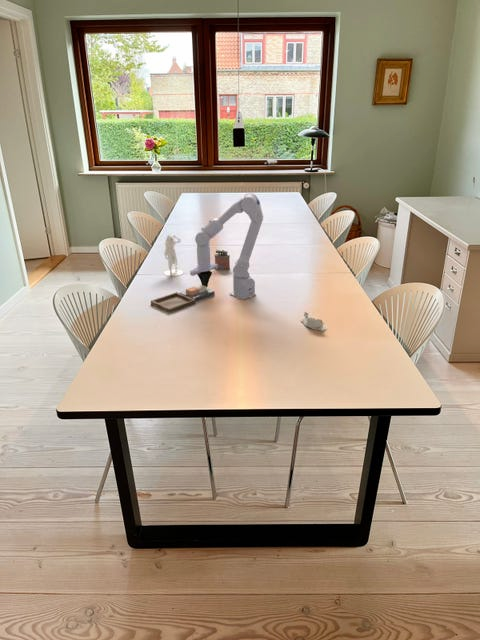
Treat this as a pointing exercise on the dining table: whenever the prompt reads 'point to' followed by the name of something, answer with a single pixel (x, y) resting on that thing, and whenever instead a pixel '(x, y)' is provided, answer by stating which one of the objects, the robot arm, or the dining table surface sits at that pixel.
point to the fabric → (313, 323)
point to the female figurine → (171, 256)
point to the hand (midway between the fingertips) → (204, 287)
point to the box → (173, 302)
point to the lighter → (222, 260)
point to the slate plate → (200, 294)
